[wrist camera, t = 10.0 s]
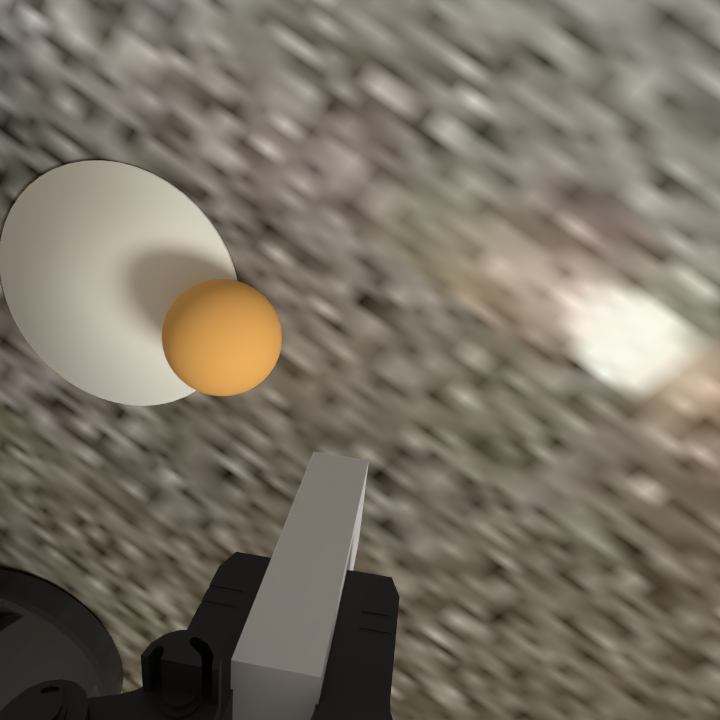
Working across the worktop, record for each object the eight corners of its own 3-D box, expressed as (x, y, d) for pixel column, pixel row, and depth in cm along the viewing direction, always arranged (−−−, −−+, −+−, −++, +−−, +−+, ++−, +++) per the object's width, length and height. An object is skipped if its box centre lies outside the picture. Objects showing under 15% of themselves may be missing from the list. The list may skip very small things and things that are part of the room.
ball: (250, 435, 27) (237, 377, 32) (315, 341, 26) (291, 295, 30) (138, 390, 24) (140, 334, 29) (204, 283, 23) (196, 242, 28)
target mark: (118, 441, 34) (117, 443, 34) (-46, 257, 31) (-49, 258, 30) (290, 327, 30) (289, 328, 29) (120, 101, 27) (117, 101, 26)
